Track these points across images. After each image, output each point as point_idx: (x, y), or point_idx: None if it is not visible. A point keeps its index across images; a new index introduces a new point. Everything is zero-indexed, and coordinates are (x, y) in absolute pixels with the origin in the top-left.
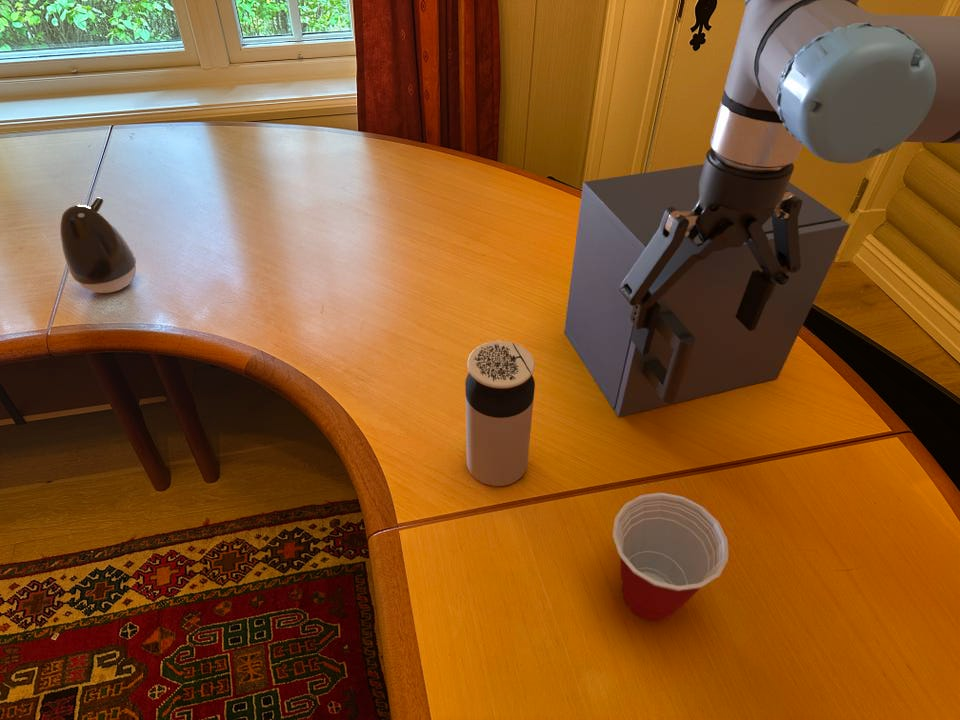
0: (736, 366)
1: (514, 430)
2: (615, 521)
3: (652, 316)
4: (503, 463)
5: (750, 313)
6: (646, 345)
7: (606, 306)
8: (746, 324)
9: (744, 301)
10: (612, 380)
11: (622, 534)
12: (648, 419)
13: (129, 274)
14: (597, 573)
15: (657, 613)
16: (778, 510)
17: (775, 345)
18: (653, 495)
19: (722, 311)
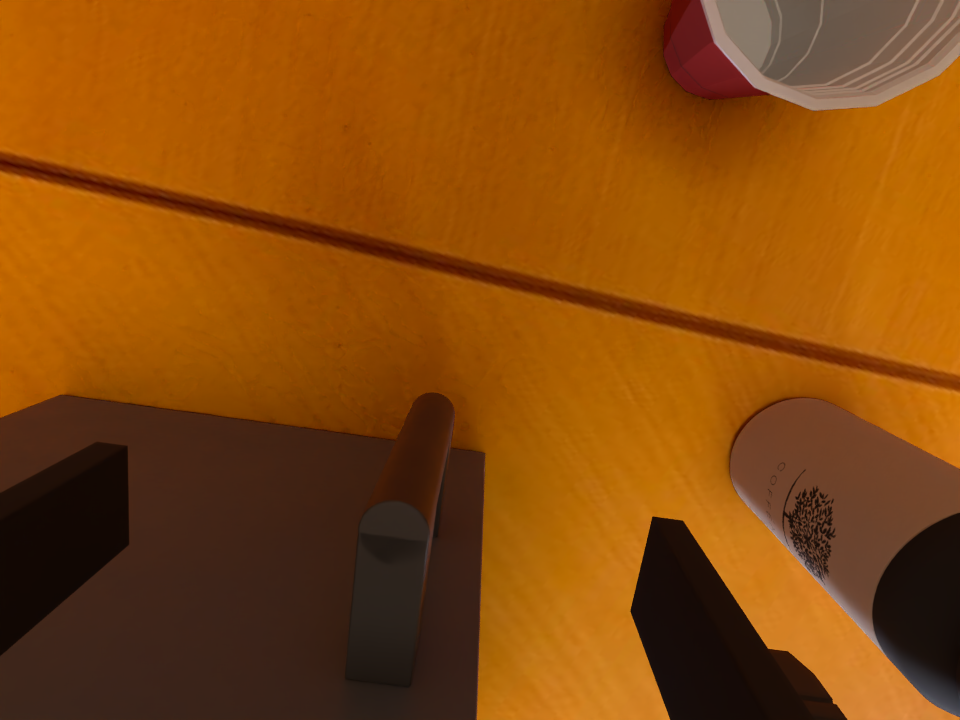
0: (155, 444)
1: (946, 474)
2: (949, 61)
3: (805, 709)
4: (877, 428)
5: (66, 516)
6: (694, 550)
7: None
8: (116, 480)
9: (45, 595)
10: None
11: (885, 59)
12: None
13: None
14: (775, 134)
15: None
16: (316, 87)
17: (9, 449)
18: (786, 90)
19: (125, 602)
